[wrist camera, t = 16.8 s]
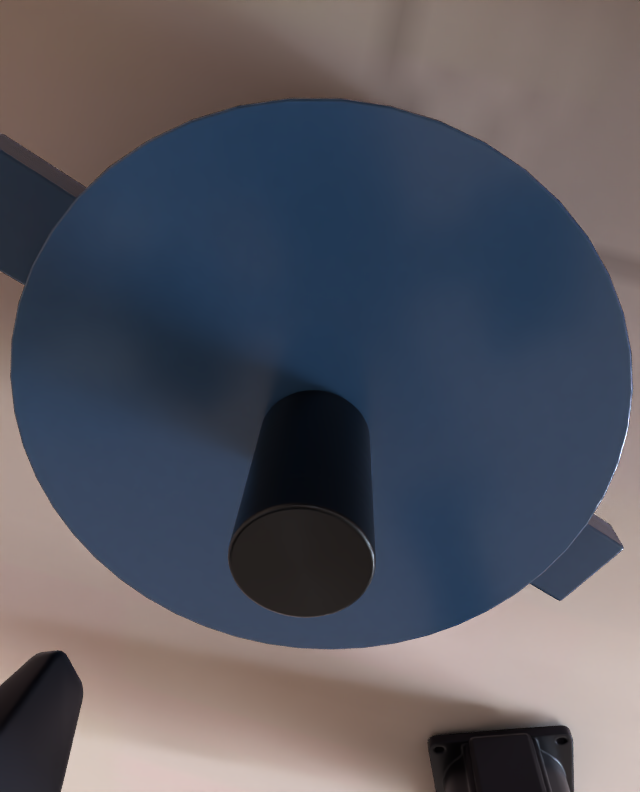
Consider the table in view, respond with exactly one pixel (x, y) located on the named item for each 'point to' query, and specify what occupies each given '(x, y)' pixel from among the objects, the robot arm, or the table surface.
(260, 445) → the lid
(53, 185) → the pot
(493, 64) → the table surface
